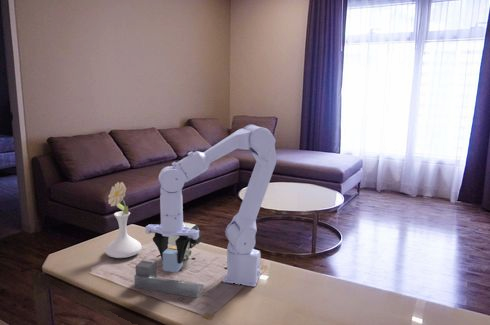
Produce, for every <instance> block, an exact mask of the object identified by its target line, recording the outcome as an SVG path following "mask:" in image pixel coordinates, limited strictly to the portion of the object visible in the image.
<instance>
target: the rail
mask: <svg viewBox="0 0 490 325" xmlns="http://www.w3.org/2000/svg"><path fill="white" fill-rule="evenodd" d="M203 287H204V288H205V286H204V284H203V283H197V282H190V281H189V282H188V281H185V280H183V281H182V280H175V279H171V278H164V277H157V260H152V259H146V258H145V259H142V260H141V261H140V262H138V263H137V264H136V265H135V274H134V288H135V289H141V290H148V291H154V292H160V293H165V294H172V295H176V296H177V295H178V296H183V297H184V296H185V297H191V298H198V297H199V296H200V294H201V292H202V291H203V290H202V289H204V288H203ZM201 290H202V291H201Z"/></svg>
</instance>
